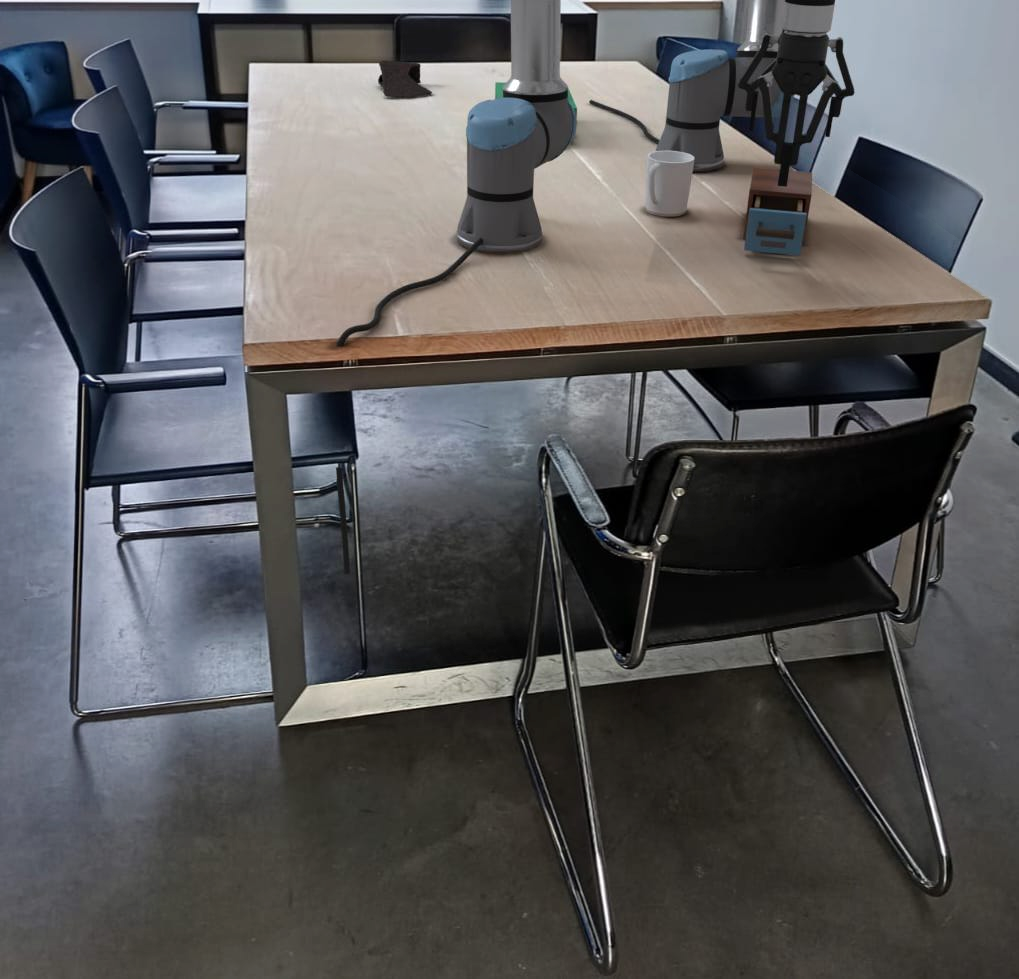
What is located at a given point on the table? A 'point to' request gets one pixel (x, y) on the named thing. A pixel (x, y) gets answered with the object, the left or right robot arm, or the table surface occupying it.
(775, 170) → the cabinet
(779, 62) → the left robot arm
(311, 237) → the table surface
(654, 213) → the mug
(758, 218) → the drawer
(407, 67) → the axe head
